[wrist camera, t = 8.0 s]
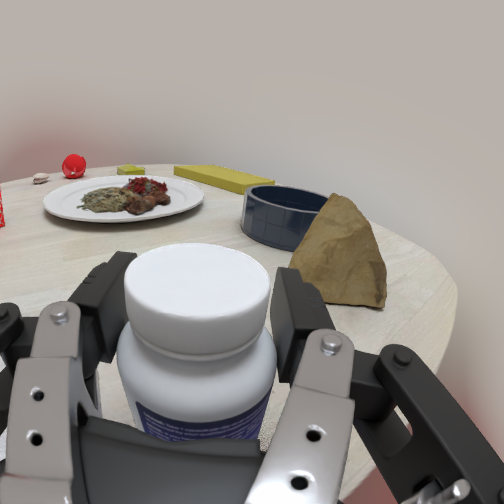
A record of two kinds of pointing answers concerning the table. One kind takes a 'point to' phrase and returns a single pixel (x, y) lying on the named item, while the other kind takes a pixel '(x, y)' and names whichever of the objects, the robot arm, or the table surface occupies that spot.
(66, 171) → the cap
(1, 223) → the red patterned cube
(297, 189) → the pot
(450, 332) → the table surface
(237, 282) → the pill bottle
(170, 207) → the plated food
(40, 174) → the macaroon
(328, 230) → the rock
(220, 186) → the flat olive board
